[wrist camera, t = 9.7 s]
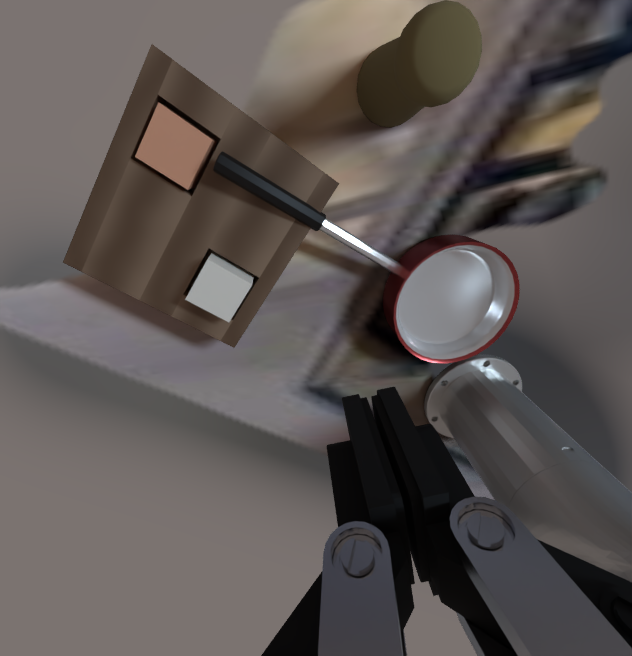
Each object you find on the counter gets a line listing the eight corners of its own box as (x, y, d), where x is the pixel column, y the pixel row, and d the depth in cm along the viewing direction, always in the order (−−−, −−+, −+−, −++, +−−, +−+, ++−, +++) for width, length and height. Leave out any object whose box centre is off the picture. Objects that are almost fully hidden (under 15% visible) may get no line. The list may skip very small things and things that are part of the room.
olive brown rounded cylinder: (369, 139, 32) (413, 127, 22) (346, 62, 29) (385, 9, 19) (432, 110, 31) (506, 85, 21) (415, 29, 28) (490, -42, 19)
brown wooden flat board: (331, 181, 33) (339, 183, 29) (237, 330, 38) (234, 347, 34) (167, 59, 28) (151, 44, 24) (85, 251, 33) (62, 262, 29)
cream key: (254, 275, 33) (252, 284, 30) (232, 310, 34) (229, 322, 31) (213, 251, 32) (207, 259, 29) (192, 288, 33) (185, 299, 30)
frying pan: (193, 252, 34) (177, 270, 28) (241, 113, 30) (233, 101, 24) (451, 358, 43) (479, 388, 37) (518, 263, 39) (560, 281, 33)
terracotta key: (217, 142, 29) (212, 139, 26) (195, 187, 30) (187, 189, 28) (169, 108, 28) (158, 102, 25) (147, 157, 29) (134, 156, 26)
